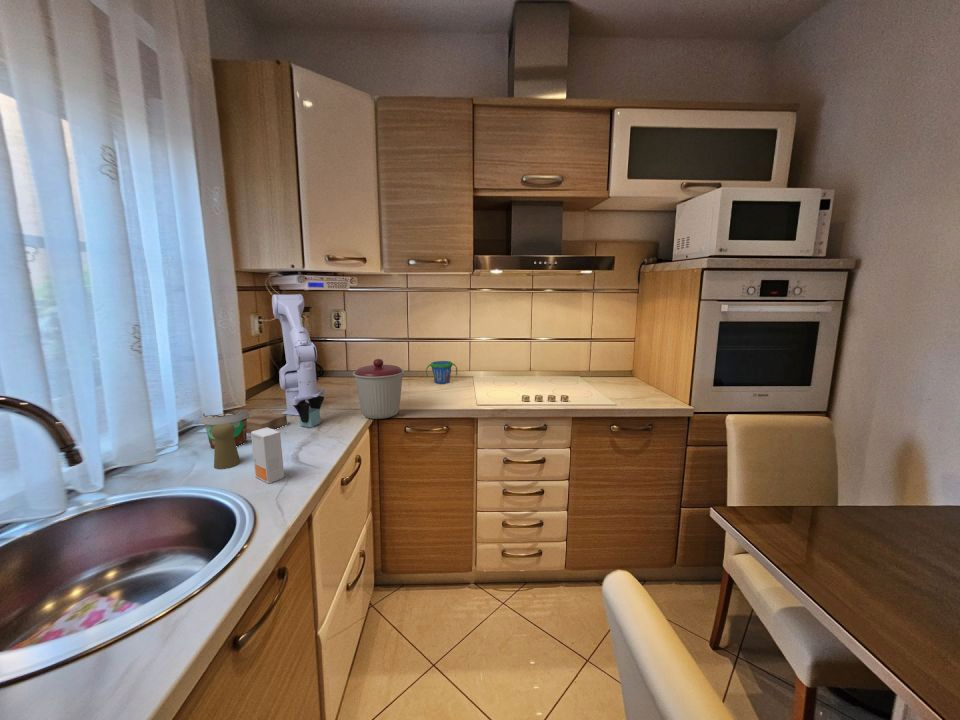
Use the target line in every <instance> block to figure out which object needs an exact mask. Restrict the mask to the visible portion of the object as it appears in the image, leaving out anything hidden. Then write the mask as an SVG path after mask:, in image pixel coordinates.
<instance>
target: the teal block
mask: <svg viewBox="0 0 960 720" xmlns="http://www.w3.org/2000/svg"><path fill="white" fill-rule="evenodd" d="M320 410H321V408H320V409H315V408H309V420H308V422H307V423H305V422H302V421H301V418H300V417H299V424H300V427H308V428H313V427H315V426H317V425H319V424H321V411H320Z"/></svg>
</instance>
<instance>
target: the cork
mask: <svg viewBox="0 0 960 720" xmlns="http://www.w3.org/2000/svg"><path fill="white" fill-rule="evenodd" d="M234 433H235V427H234V425H233V424H230V423H224V424H219V425H216V426H214V427H213V428H212V436H213V437H214V438H215V449H213V451H214V453H213V454H214V457H213V459H214V460H213V468H214V469H216V470H225V469H226V468H227V469H231V468H233V467H236V466H238V465H240V464H239V463H241V459H240V456H239V451H238V448H237V447H238V446H237V447H236V444H235V440H234V437H233V435H234ZM227 469H226V470H227Z"/></svg>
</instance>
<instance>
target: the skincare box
mask: <svg viewBox="0 0 960 720" xmlns="http://www.w3.org/2000/svg"><path fill="white" fill-rule="evenodd" d="M250 437H251V447H252V457H253V465H254V474H255V478H256V479H258V480H261V481H262V482H264V483H266V484H267V485H269V484H271V483H274V482H276V481H279V480H282V479H284V478H285V471H284V470H285V469H284V461H283V460H284V459H283V448H282V437H281V432H280V431H278V430H274V429H270V428H263V429H259V430H256V431H252V432H251V433H250Z"/></svg>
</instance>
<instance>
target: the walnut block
mask: <svg viewBox="0 0 960 720" xmlns="http://www.w3.org/2000/svg"><path fill="white" fill-rule="evenodd" d="M285 425H287V426H288V418H287V414H282V413H272V412H271V413H270V412H264V411H263V412H261V413H257V414H255V415H251V416H249V417H247V434H251V432H252V431H256V430H259V429H263V428H270V429H274V430H275V429H277V428H279V429H281V428H280V427H282V426H284V427H286V426H285ZM282 428H283V427H282ZM277 430H278V429H277Z"/></svg>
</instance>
